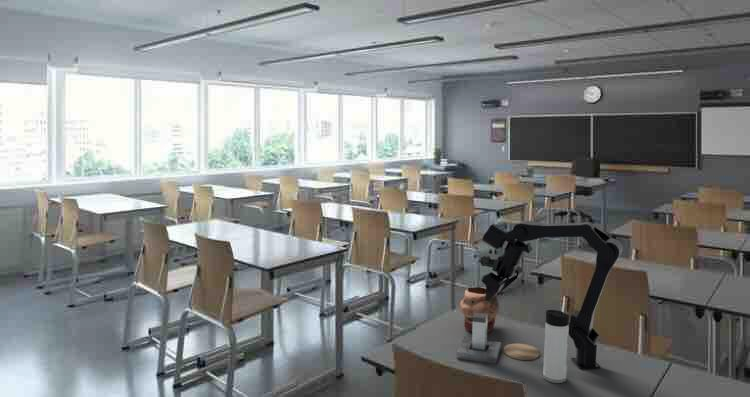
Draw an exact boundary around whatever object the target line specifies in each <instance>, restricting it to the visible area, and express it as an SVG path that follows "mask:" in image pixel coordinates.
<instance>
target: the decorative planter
mask: <svg viewBox="0 0 750 397" xmlns="http://www.w3.org/2000/svg"><path fill="white" fill-rule="evenodd" d="M485 296H486V287H482V286H480V287H479V286H470V287H468V288H467V289H466V290H465V291H464V297H463V299H462V300H461V301H460V303H459V309H460V311H461V313H462V314H463V318H464V322H463V323H464V326H463V327H464V328H465V330H467V331H470V332H472V324H473V315H474V313H483V314H488V317H487V333H489V332H491V331H492V330H493V329H494V326H495V322H496V317H497V315H498V312H499V310H500V309H499V308H500V305H499V304H500V303H499V300H498V293H497V294H496V295H495V296H494V297H492V298H491V299H490V300H489V301H486V300H485Z"/></svg>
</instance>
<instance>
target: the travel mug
mask: <svg viewBox="0 0 750 397" xmlns="http://www.w3.org/2000/svg"><path fill="white" fill-rule="evenodd" d="M569 323H570V315H569V314H568V313H565V312H564V311H561V310H556V309H547V310H546V311H545V323H544V324H545V327H544V345H543V348H544V350H543V370H542V371H543V373H542V377H543V379H544V380H546V381H547V382H550V383H554V384H561V383H564V382H566V381H567V370H568V369H567V367H568V350H569V349H568V348H569V347H568V346H569V334H568V332H569Z"/></svg>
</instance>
